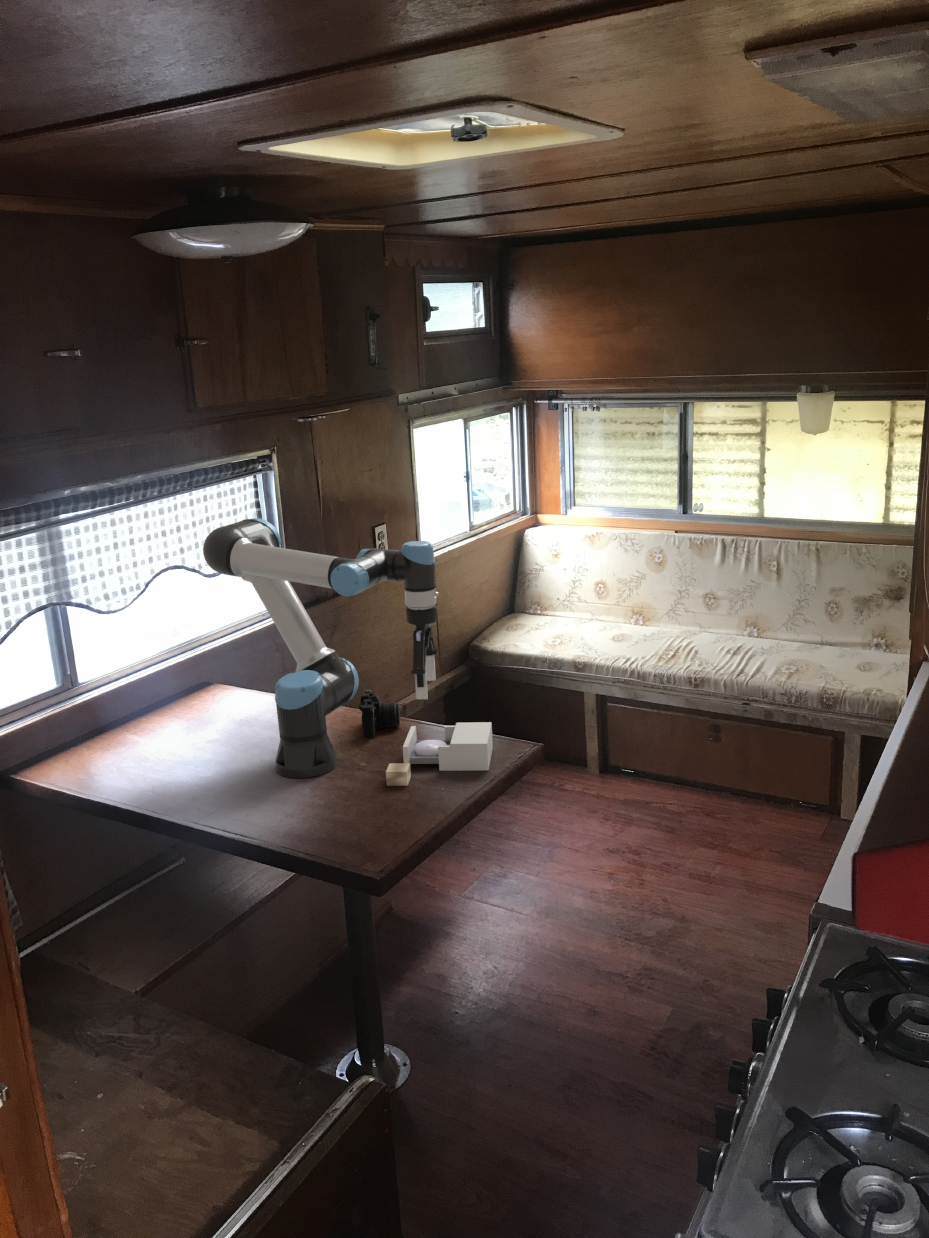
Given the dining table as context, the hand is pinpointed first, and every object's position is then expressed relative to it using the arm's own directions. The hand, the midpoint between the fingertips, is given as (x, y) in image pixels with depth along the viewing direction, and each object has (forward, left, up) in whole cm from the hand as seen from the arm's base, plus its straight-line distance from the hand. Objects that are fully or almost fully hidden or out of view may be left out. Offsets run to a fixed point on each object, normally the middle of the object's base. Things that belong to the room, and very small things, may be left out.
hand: (426, 689), depth 243 cm
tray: (0, 0, -18) cm, 18 cm away
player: (+9, 0, -19) cm, 21 cm away
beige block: (-6, -13, -19) cm, 23 cm away
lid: (0, 0, -17) cm, 17 cm away
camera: (-17, +21, -19) cm, 33 cm away
